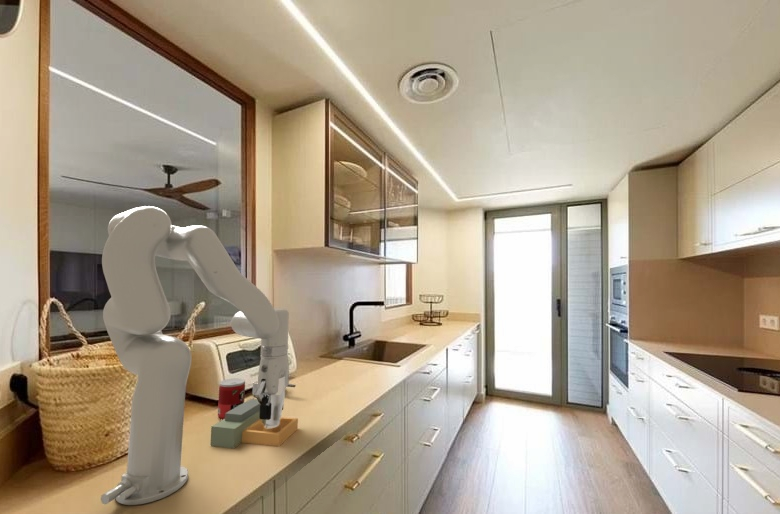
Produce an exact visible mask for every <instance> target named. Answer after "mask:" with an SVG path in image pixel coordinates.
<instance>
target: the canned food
mask: <svg viewBox="0 0 780 514" xmlns="http://www.w3.org/2000/svg"><path fill="white" fill-rule="evenodd" d="M245 389H246V379H244V378H239V377H238V378H227V379H224V380H222V381H220V382H219V385H218V400H217V401H218V403H217V404H218V405H217V417H218V419H220V420H221V419H222V420H223V419H225V413H227V412H228V411H230V410H232V409H234V408H236V407H237V406H239V405H241V404H243V403H244V402H245V395H246V393H245V392H246V390H245Z"/></svg>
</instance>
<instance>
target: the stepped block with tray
mask: <svg viewBox="0 0 780 514" xmlns="http://www.w3.org/2000/svg"><path fill="white" fill-rule="evenodd" d="M259 416H260V405H259V402H258V400H257V398H249V399H247V401H244V403H243V404H241V405H239V406H237V407H236V408H234V409H232V410H230V411H228V412H227V413H225V419H223V420H221V419H220V421H218V422H216V423H215V424H213V425H211V427H210V430H211V431H210V443H209V444H210V445H211V447H217V446H219V447H218V448H225V449H226V447H227V449H235V448H236V447H237V446H239V445H241V444H242V443H245V444H254V445H263V446H264V445H265V446H270V447H271V446H273V447H280V445H282V444H283V443H284V442H285V441H286V440H287V439H288V438H289V437H291V436H292V435H293V434H294V433H295V432H296V431H297V430H298V427H299V425H298V423H299V419H298V418H295V417H288V416H287V417H285V416H281V421H282V429H281V430H280V431H279V432H277V433H275V432H266V431H260V427H261V422H262V419H260V418H259Z"/></svg>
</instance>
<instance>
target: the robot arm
mask: <svg viewBox="0 0 780 514" xmlns="http://www.w3.org/2000/svg"><path fill="white" fill-rule="evenodd" d="M107 233H108V237H107V240H106V241H105V244H104V247H103V250H102V257H101V266H102V272H103V275H104V278H105V282H106V284H107V285H106V286H107V288H108V291H109V294H110V296H111V297H110V298H109V299H108V300H107V302H106V303H105V305H104V307H103V311H102V317H103V322H104V326H105V329H106V331H107V334H108V336H109V339H110V342H111V344H112V346H113V348H114V351H115V353H116V356H117V359H118V360H119V362H120V363H121V365H122V367H123V368H124V370H126V371H128V372H130V373H131V374H133V375H135V376H137V381H136V386H135V389H134V391H133V392H134V393H133V396H132V401H131V411H130V423H129V425H130V427H129V439H128V449H127V450H128V452H127V464H126V473H123V474H122V475H121V478H120V481H119V483H117V484H116V486H115V487H112V488H111V489H110V490H108V491H106V492H104V493H103V494H102V495H101V496H100V502H101V503H102V504H103V505H108V504H109V503H111V502H112V501H114V500H116V502H117V503H119V504H122V505H124V506H125V505H127V506H136V505H137V506H138V505H143V504H144V505H145V504H149V503H152V502H153V503H154V502H156V501H158V500H162V499H164V498H166V497H168V496H170V495H172V494H174V493H175V492H177V491H178V490H179V489H181V488H182V487H183V486H184V485H185V484H186V482H187V481H188V479H189V471H188V469H187V468H186V467H185V466H183V465H181V464H182V449H183V437H184V436H183V434H184V418H185V417H184V416H185V403H186V402H185V401H186V399H185V398H186V390H187V389H186V388H187V383H188V377H189V374H190V369H191V366H192V352H191V350H190V347H189V345H188V344H187V343H186V342H185V341H183V339H180V338H179V337H175V336H171V335H167V334H163V331H162V330H163V329H165V328H166V326H167V325H168V323H169V322H170V319H171V316H172V315H171V314H172V313H171V308H170V304H169V302H168V299H167V297H166V295H165V291H164V289H163V286H162V283H161V280H160V278H159V275H158V271H157V267H156V257H160V258H164V259H165V258H166V259H168V260H169V259H170V260H176V261H187V262H188V264H189V265H190V266H191V268H192V269H193V270H194V272H195V273H196V274H197V276H198V278H199V279H200V280H201V282H202V283H203V284H204V286H205V287H206V289H207V290H208V291H209V292H210V293H211V294H212V295H214V296H215V297H218V298H220V299H222V300H224V301H226V302H228V303H229V304H231V305H233V306H234V307H235V308H237V310H239V311H237V312H236V313H235V314H234V315H233V316H232V318H231V321H230V327H231V329H232V331H233V332H234V333H236V335H239V336H242V337H248V338H253V339H259V340H260V361H259V367H258V375H257V378H258V391H257V393H256V395H254V396H255V399H257V400H258V402H259V405H260V416H259V418H260V419H264V420H270V419H271V404H270V401H271V395H274V394H276V393H277V392H278V384H279V378H282V377H283V376H285V389H286V388H287V386H288V384H290V365H289V363H290V362H289V353H288V351H289V350H288V347H289V344H288V343H289V328H290V327H289V324H290V323H289V322H290V313H289V310H288V309H286V308H274V306H273V304H272V303H271V302H270V300H269V298H268V297H267V296H266V295H265V293H264V292H263V291H261V289H259V288H258V287H257V286H256V285H255V284H254V283H252V282H251V281H250V280H249V279H248V278H247V277H245V275H243V274H242V273H241V272H240V270H239V269H238V267H237V265H236V264H235V263H234V261H233V259H232V258H231V256H230V255H229V253H228V251H227V250H226V248H225V247H224V245H223V244H222V241H221V240H220V239H219V237H218V236H217V234H216V233H215V231H214V230H213V229H211V228H210V227H208V226H206V225H190V226H189V225H188V226H186V227H180V226H178V225H177V226H176V225H172V220H171V218H170V215H169V214H167V212H166V211H165V210H163V209H161V208H159V207H156V206H150V205H148V206H146V205H144V206H139V207H134V208H131V209H128V210H126V211H124V212H121V213H118V214H116V215H114V216H113V217H112V218H111V220H110V221H109V223H108V225H107ZM265 388H266V389H267V392H268V393H263V392H264V390H265ZM263 395H268V397H267V399H266V398H265V397H263ZM283 410H284V407H283V408H282V411H283Z"/></svg>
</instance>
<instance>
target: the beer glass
mask: <svg viewBox="0 0 780 514" xmlns="http://www.w3.org/2000/svg"><path fill="white" fill-rule="evenodd" d="M263 393H268V392H267V389H266V388H265V390H264V392H263ZM285 396H286V388H285V376H283V377H282V378H279V384H278V392H277V393H276V394H274V395H271V401H270V404H271V419H270V420H264V419H262V422H261V427H260V431H266V432H275V433H278V432H279V431H280V430H281V429H282V421H281V417H282V412H283V410H282V408H283V409H284V402H285ZM263 397H265V398H266V399H267V397H268V395H263Z"/></svg>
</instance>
